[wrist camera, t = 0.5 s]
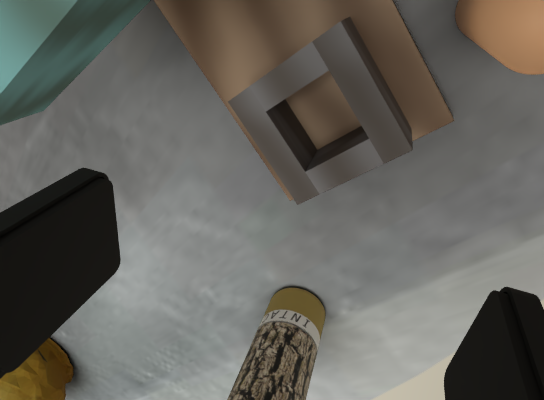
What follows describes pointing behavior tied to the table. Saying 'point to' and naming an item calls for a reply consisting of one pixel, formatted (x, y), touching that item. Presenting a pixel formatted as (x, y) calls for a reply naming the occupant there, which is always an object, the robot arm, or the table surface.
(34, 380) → the pitcher
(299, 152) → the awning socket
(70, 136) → the table surface
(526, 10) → the peg
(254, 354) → the paper tube
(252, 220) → the table surface
